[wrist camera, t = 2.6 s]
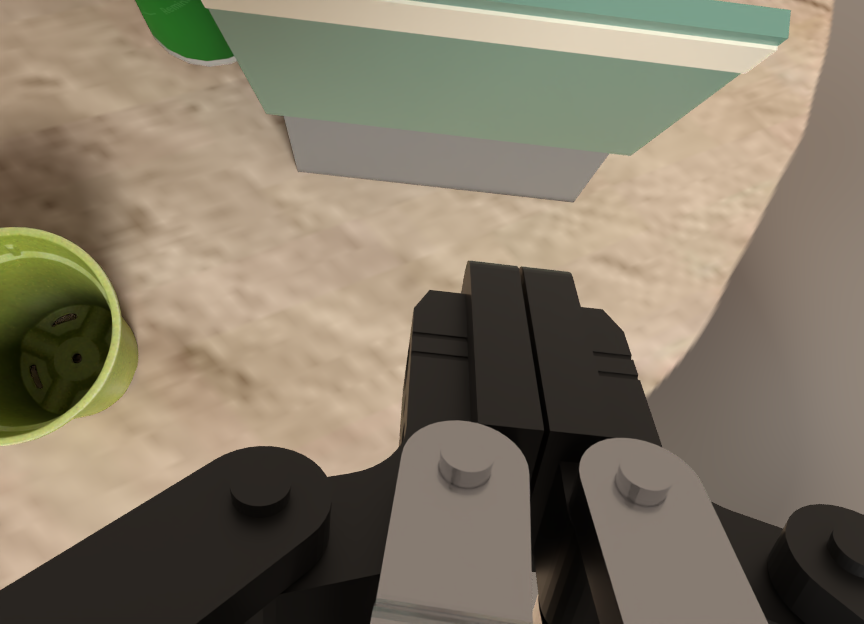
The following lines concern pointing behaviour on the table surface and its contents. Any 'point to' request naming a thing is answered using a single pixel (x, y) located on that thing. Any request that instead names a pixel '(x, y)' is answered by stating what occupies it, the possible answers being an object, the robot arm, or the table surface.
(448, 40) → the lid
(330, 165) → the storage box
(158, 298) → the table surface
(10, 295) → the plant pot
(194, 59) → the soda can
